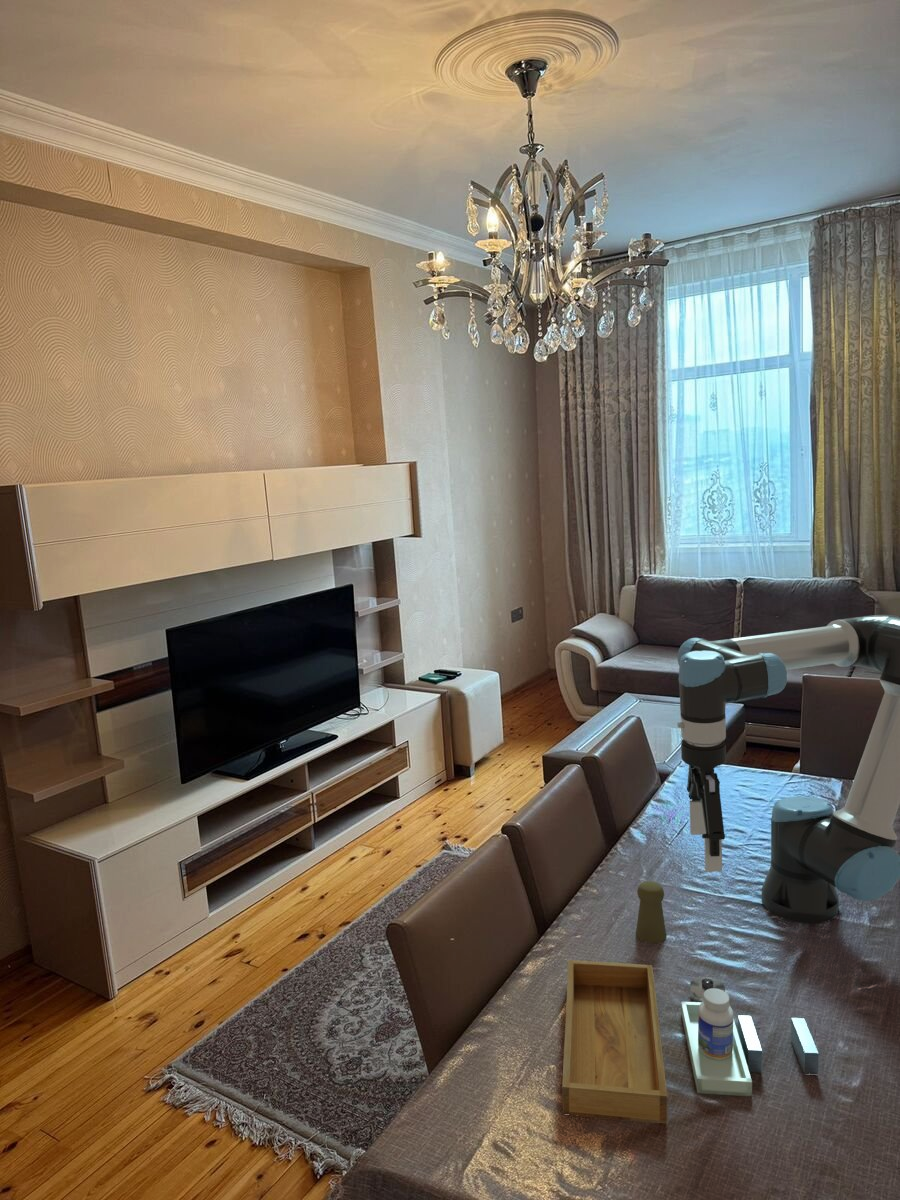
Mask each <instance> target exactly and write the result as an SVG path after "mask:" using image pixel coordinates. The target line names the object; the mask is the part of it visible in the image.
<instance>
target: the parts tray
mask: <svg viewBox="0 0 900 1200" xmlns="http://www.w3.org/2000/svg"><path fill="white" fill-rule="evenodd" d="M680 1002H681V1007H680V1008H681V1010H680V1011H681V1019H682V1024H683V1029H684V1034H685V1035H684V1036H685V1039H686V1043H687V1044H686V1045H687V1048H688V1055H689V1059H690V1064H691V1070H692V1073H693V1075H692V1076H693V1078H694V1084H695V1088H696V1093H697V1094H701V1095H702V1094H703V1095H704V1094H706V1095H720V1096H721V1095H722V1096H738V1097H739V1096H740V1097H753V1080H752V1078H751V1074H750V1073H751V1072H749V1070H748V1066H747V1063H746V1059H745V1056H744V1053H743V1049H742V1046H741V1042H740V1039H739V1035H738V1028H737V1026H736V1022H735V1018H734V1017H733V1049H732V1054H731V1056H730V1057H729V1058H727V1059H724V1060H715V1059H711V1058H708V1057H707V1056H705V1055H704V1054H702V1052H701V1051H700V1050H699V1047H698V1012H699V1006H700V1004H701V1003H702V1002H693V1001H680ZM729 1006H730V1007H731V1005H729Z"/></svg>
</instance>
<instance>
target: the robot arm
mask: <svg viewBox="0 0 900 1200" xmlns="http://www.w3.org/2000/svg"><path fill="white" fill-rule="evenodd" d="M677 663H678V666H679V668H678V683H679V686H678V687H679V707H680V708H679V709H680V710H679V711H680V720H681V721H679V722H677V723H676V725H677V728H680V736H681V739H682V740H681V741H680V747H681V748H680V750H681V751H680V755H681V758H680V759H681V760H682V761H683V763H685V764H686V765H688V771H687V772H688V775H687V785H686V786H687V787H686V791H687V793H688V798H689V828H690V836H691V835H693V836H697V835H698V836H699V835H701V838H702V839H704V868H705V869H704V870H705V873H712V872H713V873H717V872H718V873H719V872H720V873H722V872H723V849H722V847H723V846H722V845H723V843H722V842H723V841H722V840H725V839H726V834H725V828H724V819H723V810H722V803H721V802H722V801H721V790H720V789H721V788H720V787H721V786H720V784H721V782H720V780H719V778H718V777H719V776H718V773H717V772H715V768H717V767H719V766H722V765H724V763H725V762H726V761H727V749H726V748H727V746H726V744H727V743H726V741H725V739H726V738H727V732H726V731H727V730H726V729H727V726H726V722H727V721H726V705H727V704H732V703H733V704H734V703H738V702H743V701H750V700H754V699H760V698H761V699H762V698H767V697H768V696H772V695H777V694H779V693H781V692H782V691H783V690H784V689H785V688H786V685H787V682H788V677H787V675H788V672H787V671H788V670H796V669H804V668H809V667H811V668H812V667H818V666H826V665H831V664H832V665H835V666H837V667H841V668H846V667H861V668H866V669H867V668H868V669H871V670H874V671H878V672H881V675H880V678H879V683H880V684H881V686H882V688H883V691H884V694H883V696H882V699H881V702H880V705H879V707H878V709H877V713H876V715H875V716H876V717H875V720H874V722H873V724H872V728H871V731H870V733H869V736H868V740H867V742H866V745H865V747H864V749H863V750H864V751H863V753H862V757H861V759H860V762H859V764H858V768H857V771H856V774H855V776H854V779H853V782H852V785H851V787H850V791H849V793H848V796H847V799H846V802H845V805H844V806H843V807H842V808H841V809H838V810H835V811H834V809H833V807H834V806H833V805H832V804H831V803H830V802H829V801H827V800H825V799H822V798H817V797H814V796H813V797H811V796H790V797H785V798H781V799H778V800H776V802H775V803H774V804H773V806H772V810H771V818H770V867H769V870H768V872H767V874H766V877H765V879H764V882H763V884H762V887H761V895H760V896H761V903H762V904H763V907H765V909H767V911H768V912H771V913H772V914H773V915H775V916H777V917H779V918H782V919H784V920H788V921H791V922H795V923H802V924H820V923H821V924H822V922H823V923H826V922H825V921H827V922H829V921H828V920H830V919H832V918H833V919H835V918H836V917H837V916H838V914H839V912H838V911H840V910H839V909H840V898H839V895H838V892H837V890H838V891H839V892H841V893H843V894H846V895H847V896H850V897H852V898H853V899H855V900H858V901H861V902H862V901H863V902H871V901H874V900H878V899H880V898H881V897H882V896H885V895H887V894H888V893H889V892H890V891H891V890H892V889H893V888H895V886H896V884H897V883H898V881H899V880H900V855H899V853H898V852H897V851H896V849H895V846H896V843H897V841H898V836H897V834H896V831H895V830H894V828H893V823H894V822H895V818H896V815H897V812H898V809H899V808H900V807H899V806H900V615H894V614H873V615H864V616H863V615H862V616H856V617H848V618H843V619H841V618H840V619H836V620H832V621H830V622H829V623H828V624H827V625H826V626H819V627H810V628H803V629H796V630H789V631H780V632H774V633H766V634H765V633H764V634H757V635H748V636H742V637H736V638H735V637H734V638H729V639H727V638H726V639H719V640H718V639H717V640H709V639H706V638H699V637H692V638H688V639H687V640H685V641H684V642H683V643H682V644H681V645H680V647H679V649H678V651H677ZM836 889H837V890H836ZM836 915H837V916H836ZM835 916H836V917H835ZM834 917H835V918H834ZM833 919H832V920H833ZM830 921H831V920H830Z"/></svg>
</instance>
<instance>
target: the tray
mask: <svg viewBox="0 0 900 1200" xmlns="http://www.w3.org/2000/svg"><path fill="white" fill-rule="evenodd" d="M567 965H568V966H567V981H566V982H567V983H566V986H567V987H566V1005H565V1006H566V1008H565V1026H564V1027H565V1028H564V1029H565V1030H564V1045H563V1062H562V1063H563V1066H562V1068H563V1070H562V1085H561V1087H562V1088H561V1090H562V1091H561V1092H562V1096H561V1098H562V1112H563V1115H564V1114H569V1115H578V1116H577V1117H580V1116H583V1118H592V1119H593V1118H594V1119H601V1118H605V1119H604V1120H613V1121H627V1122H638V1123H648V1122H651V1123H650V1124H659V1123H667V1121H668V1092H667V1085H666V1083H667V1082H666V1074H665V1073H666V1072H665V1066H664V1055H663V1054H664V1053H663V1048H662V1041H661V1040H662V1038H661V1030H660V1028H661V1027H660V1020H659V1013H658V1001H657V994H656V986H655V985H656V984H655V977H654V971H653V970H654V969H653V965H652V964H638V963H622V962H607V961H606V962H605V961H593V960H591V961H589V960H576V959H575V960H574V959H568V964H567ZM569 1115H568V1116H569ZM653 1122H655V1123H653ZM657 1122H659V1123H657Z"/></svg>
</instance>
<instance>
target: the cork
mask: <svg viewBox="0 0 900 1200" xmlns="http://www.w3.org/2000/svg"><path fill="white" fill-rule="evenodd" d="M636 892H637V896H638V899H639V900H640V901H639V906H638V907H639V908H638V914H637V922H636V930H635V936H636V937H637V939H639V940H640V942H644V943H646V944H659V943H662V942H664V941H665V940H667V931H666V930H667V929H666V925H665V918H664V917H665V916H664V911H663V905H662V903H663V902H662V901H663V899H664V896H665V891H664V887H663V886H662V885H661V884H660V883H659V882H656V881H652V880H648V881H647V880H646V881H643V882H640V884H639V885H638V888H637V891H636Z"/></svg>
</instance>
